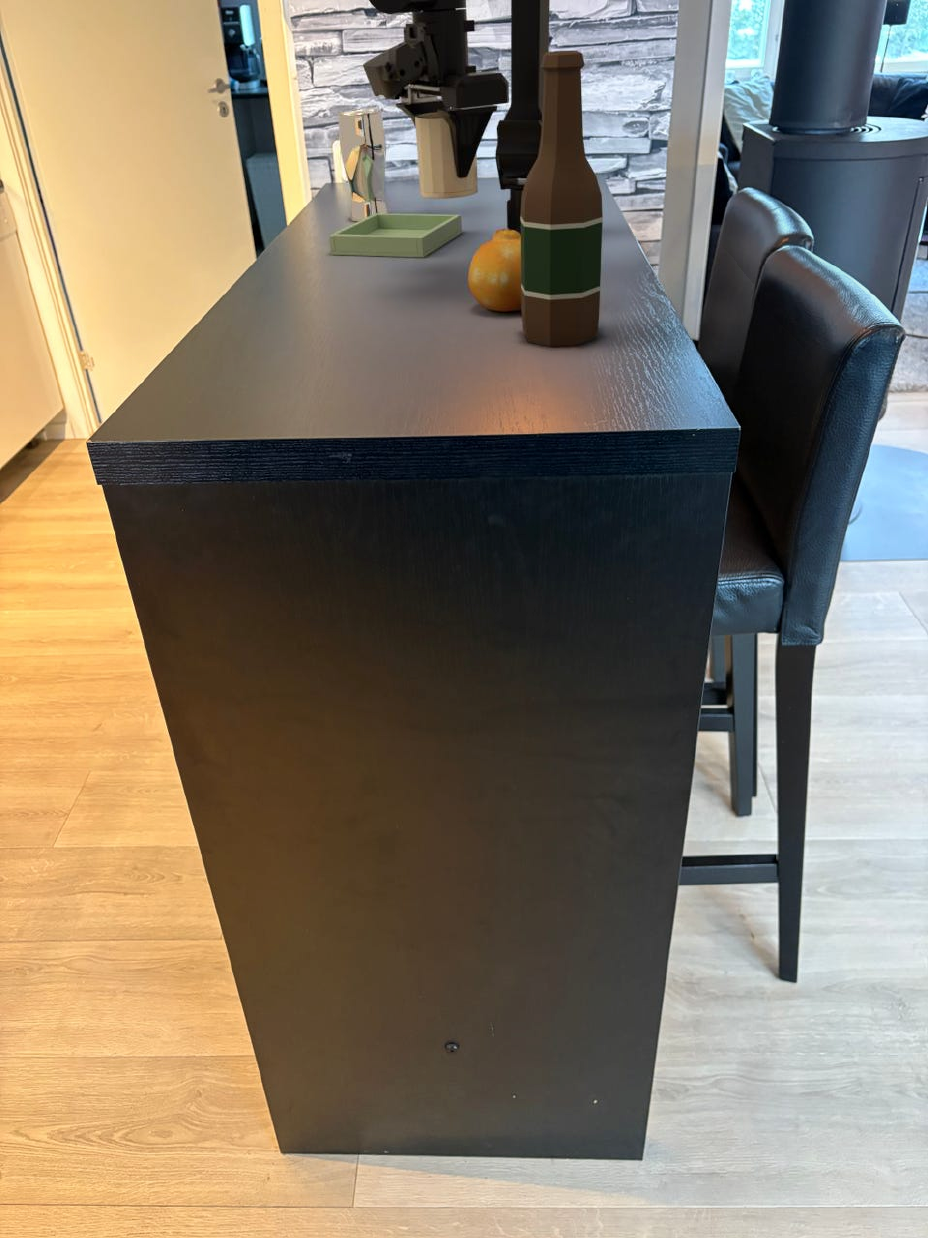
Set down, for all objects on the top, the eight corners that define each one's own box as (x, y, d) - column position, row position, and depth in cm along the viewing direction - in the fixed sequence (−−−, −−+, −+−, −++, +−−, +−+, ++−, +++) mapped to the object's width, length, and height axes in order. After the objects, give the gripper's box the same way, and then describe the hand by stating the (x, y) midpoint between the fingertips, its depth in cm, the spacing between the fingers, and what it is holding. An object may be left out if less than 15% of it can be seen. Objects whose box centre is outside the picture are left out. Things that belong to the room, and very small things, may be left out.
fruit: (496, 269, 106) (482, 212, 99) (562, 281, 103) (553, 222, 96) (466, 323, 103) (450, 268, 96) (533, 337, 100) (521, 281, 93)
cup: (485, 187, 109) (482, 110, 104) (467, 198, 104) (463, 117, 99) (432, 187, 111) (427, 111, 106) (411, 198, 105) (406, 118, 101)
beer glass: (385, 222, 145) (375, 113, 136) (342, 222, 146) (330, 114, 138) (396, 213, 150) (388, 108, 142) (355, 214, 152) (344, 109, 143)
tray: (462, 232, 135) (461, 214, 134) (423, 257, 123) (422, 237, 122) (376, 230, 139) (375, 213, 138) (330, 254, 127) (328, 235, 126)
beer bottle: (606, 326, 94) (617, 47, 81) (589, 349, 88) (598, 52, 74) (532, 322, 96) (530, 50, 83) (510, 345, 90) (505, 55, 77)
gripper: (334, 15, 101) (351, 173, 110) (408, 13, 87) (420, 194, 96) (425, 9, 105) (435, 161, 114) (510, 6, 91) (513, 180, 100)
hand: (448, 173), depth 106 cm, fingers closed on cup, 6 cm apart
